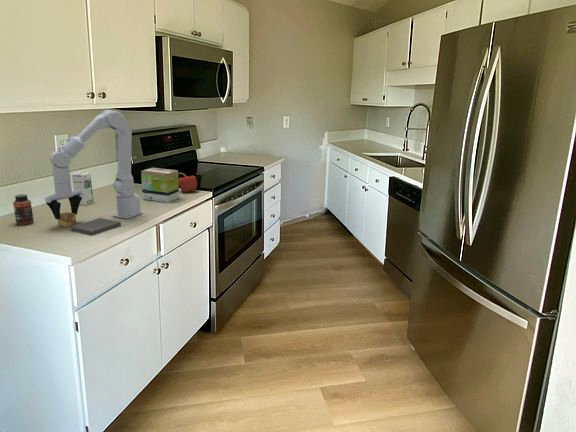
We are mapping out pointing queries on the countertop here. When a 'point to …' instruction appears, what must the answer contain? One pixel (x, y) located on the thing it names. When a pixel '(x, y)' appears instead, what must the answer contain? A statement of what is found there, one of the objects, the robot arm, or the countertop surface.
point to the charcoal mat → (95, 226)
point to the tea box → (160, 184)
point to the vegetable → (187, 183)
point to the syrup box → (83, 186)
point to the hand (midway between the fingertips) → (66, 216)
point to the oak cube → (67, 219)
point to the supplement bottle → (23, 210)
